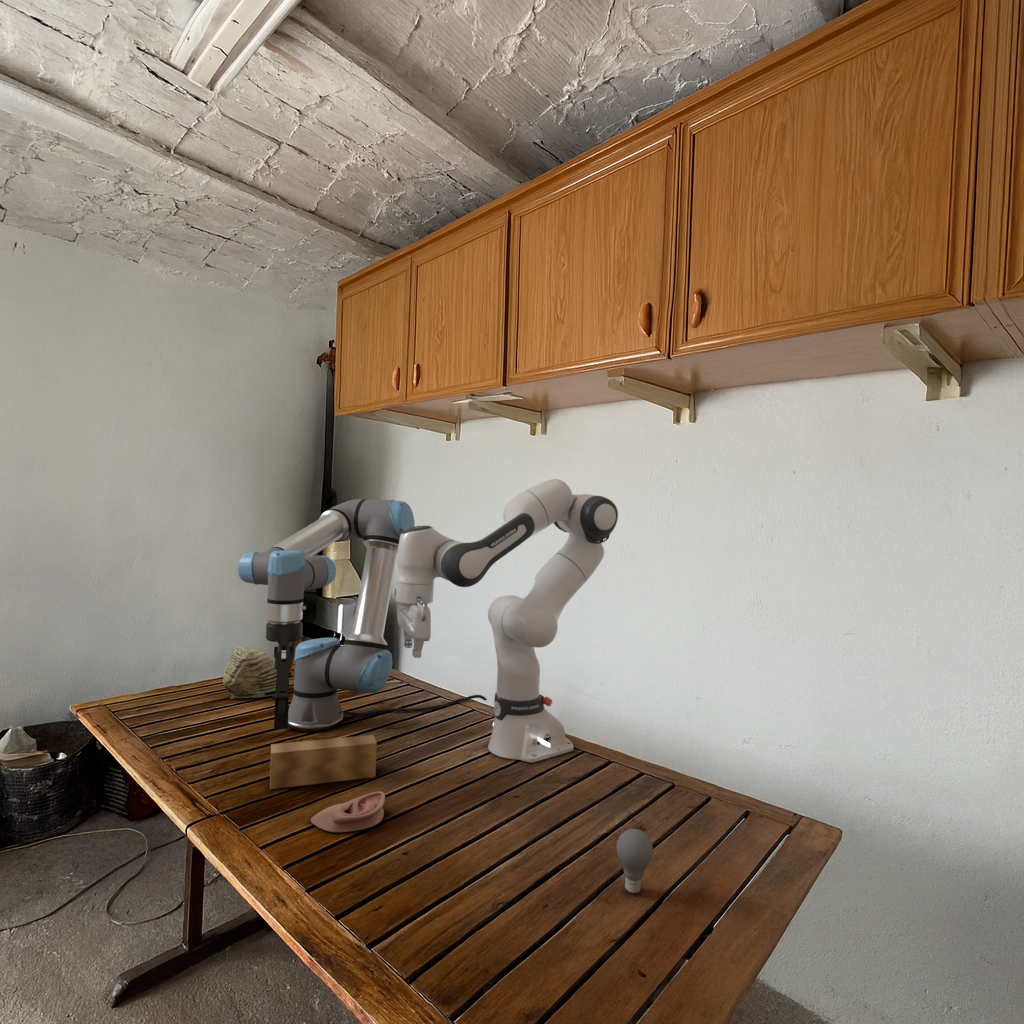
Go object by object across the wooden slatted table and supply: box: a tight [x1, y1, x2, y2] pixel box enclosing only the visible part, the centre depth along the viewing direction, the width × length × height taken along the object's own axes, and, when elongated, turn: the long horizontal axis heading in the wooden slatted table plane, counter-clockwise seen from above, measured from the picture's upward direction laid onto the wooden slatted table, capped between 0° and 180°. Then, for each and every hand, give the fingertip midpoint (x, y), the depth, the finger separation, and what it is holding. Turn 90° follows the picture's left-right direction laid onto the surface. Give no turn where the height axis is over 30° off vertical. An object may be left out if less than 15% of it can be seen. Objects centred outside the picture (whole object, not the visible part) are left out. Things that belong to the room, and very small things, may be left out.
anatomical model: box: [310, 790, 386, 833], centre depth 125 cm, size 13×4×12 cm
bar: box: [269, 734, 378, 790], centre depth 143 cm, size 22×5×8 cm, turn 111°
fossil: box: [222, 646, 277, 699], centre depth 198 cm, size 9×18×15 cm, turn 132°
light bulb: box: [615, 828, 654, 894], centre depth 106 cm, size 6×6×10 cm
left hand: (281, 717), depth 139 cm, fingers open, 13 cm apart
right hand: (412, 652), depth 150 cm, fingers open, 8 cm apart
